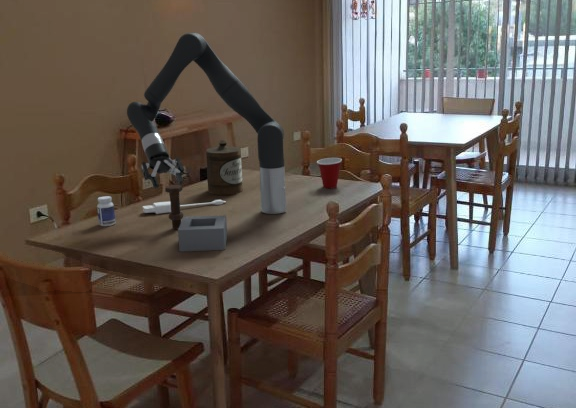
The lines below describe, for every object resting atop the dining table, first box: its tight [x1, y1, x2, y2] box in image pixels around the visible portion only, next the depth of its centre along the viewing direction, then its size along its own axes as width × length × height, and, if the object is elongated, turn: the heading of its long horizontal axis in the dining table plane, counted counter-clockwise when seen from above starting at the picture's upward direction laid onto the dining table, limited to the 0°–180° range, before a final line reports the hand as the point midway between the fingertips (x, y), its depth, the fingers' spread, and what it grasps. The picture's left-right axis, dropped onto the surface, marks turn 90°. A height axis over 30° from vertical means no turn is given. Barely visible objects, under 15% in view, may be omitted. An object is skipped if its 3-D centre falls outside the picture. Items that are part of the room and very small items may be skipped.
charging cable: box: [142, 199, 227, 215], centre depth 233 cm, size 5×32×3 cm, turn 114°
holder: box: [177, 214, 228, 252], centre depth 193 cm, size 14×14×7 cm
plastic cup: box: [316, 157, 343, 189], centre depth 259 cm, size 11×11×12 cm
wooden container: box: [205, 139, 243, 196], centre depth 256 cm, size 15×15×22 cm
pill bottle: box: [96, 195, 117, 227], centre depth 215 cm, size 6×6×10 cm
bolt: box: [165, 184, 184, 230], centre depth 207 cm, size 6×5×15 cm
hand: (169, 185), depth 209 cm, fingers open, 8 cm apart
